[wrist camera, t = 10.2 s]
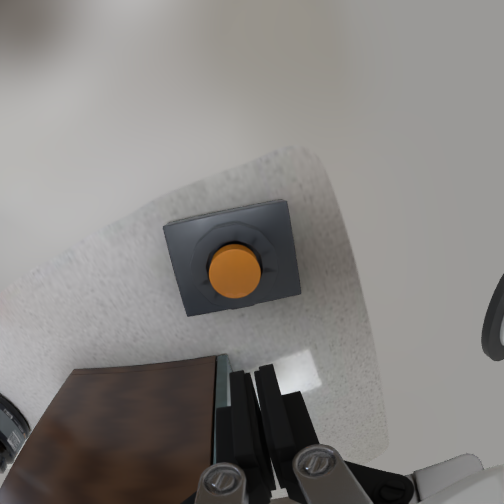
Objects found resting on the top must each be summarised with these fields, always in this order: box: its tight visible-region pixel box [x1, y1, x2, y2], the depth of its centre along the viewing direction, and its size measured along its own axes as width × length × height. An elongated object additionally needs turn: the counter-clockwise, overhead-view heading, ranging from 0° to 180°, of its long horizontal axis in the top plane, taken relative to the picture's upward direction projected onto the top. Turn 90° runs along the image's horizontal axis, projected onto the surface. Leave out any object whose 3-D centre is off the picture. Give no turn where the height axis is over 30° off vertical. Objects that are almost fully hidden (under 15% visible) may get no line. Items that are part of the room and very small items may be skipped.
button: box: [209, 244, 261, 298], centre depth 21 cm, size 4×4×2 cm
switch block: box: [163, 199, 301, 317], centre depth 23 cm, size 10×8×4 cm
